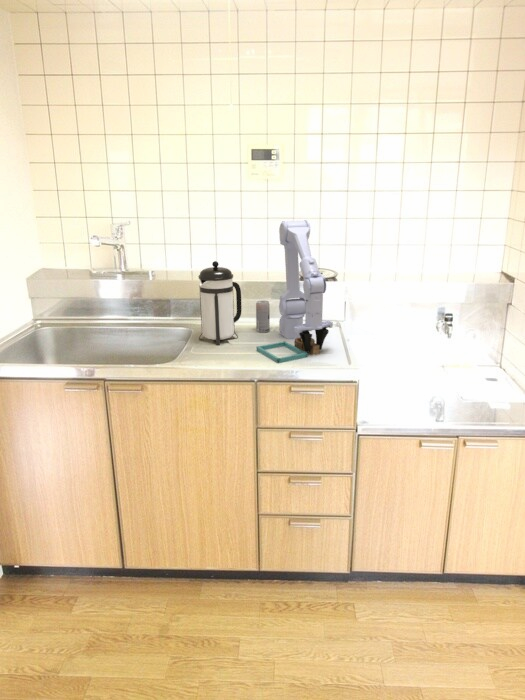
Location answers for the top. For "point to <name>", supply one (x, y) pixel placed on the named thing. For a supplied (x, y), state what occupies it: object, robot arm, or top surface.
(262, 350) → the tray
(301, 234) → the robot arm
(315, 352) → the ring
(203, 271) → the coffee press
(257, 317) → the energy drink
